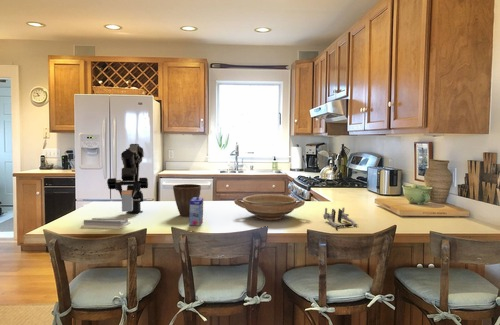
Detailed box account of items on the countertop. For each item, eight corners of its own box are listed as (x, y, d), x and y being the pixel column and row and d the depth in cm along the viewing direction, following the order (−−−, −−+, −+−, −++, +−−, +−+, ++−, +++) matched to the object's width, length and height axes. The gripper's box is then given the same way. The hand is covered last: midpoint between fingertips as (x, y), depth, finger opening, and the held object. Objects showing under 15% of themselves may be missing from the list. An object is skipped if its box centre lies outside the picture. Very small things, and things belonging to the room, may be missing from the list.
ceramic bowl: (231, 223, 180) (231, 202, 179) (237, 211, 208) (237, 193, 207) (306, 224, 177) (307, 203, 177) (302, 212, 206) (302, 194, 205)
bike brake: (319, 219, 185) (336, 235, 166) (321, 206, 183) (337, 221, 164) (344, 218, 188) (363, 234, 168) (346, 206, 186) (365, 220, 167)
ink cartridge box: (200, 226, 173) (200, 195, 172) (189, 226, 173) (188, 195, 172) (203, 221, 183) (203, 192, 182) (192, 221, 183) (192, 192, 182)
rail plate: (94, 222, 181) (93, 216, 181) (130, 223, 178) (130, 217, 178) (80, 227, 170) (80, 221, 170) (119, 228, 167) (119, 222, 167)
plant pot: (206, 215, 198) (206, 185, 197) (184, 219, 187) (184, 188, 186) (189, 211, 208) (189, 183, 207) (167, 215, 197) (167, 185, 196)
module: (123, 209, 177) (122, 190, 177) (132, 209, 178) (132, 190, 178) (122, 211, 173) (121, 191, 172) (131, 211, 174) (131, 191, 173)
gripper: (107, 161, 176) (103, 187, 166) (147, 161, 180) (145, 186, 170) (110, 176, 184) (107, 201, 174) (148, 175, 188) (147, 200, 178)
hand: (126, 197), depth 174 cm, fingers closed on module, 4 cm apart
